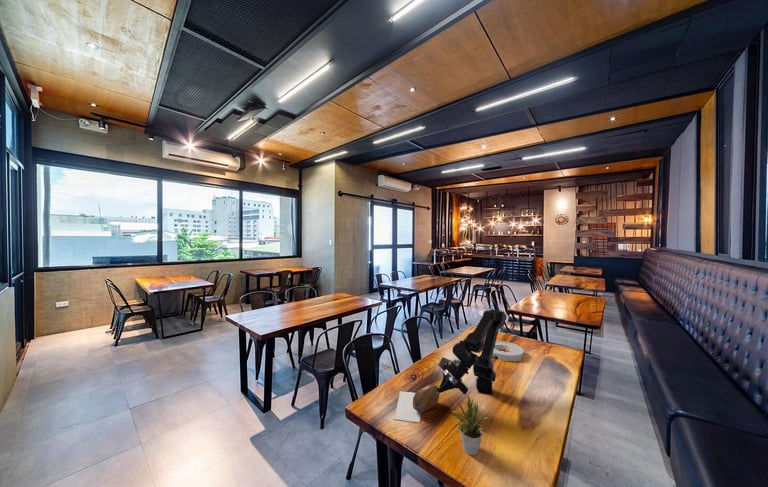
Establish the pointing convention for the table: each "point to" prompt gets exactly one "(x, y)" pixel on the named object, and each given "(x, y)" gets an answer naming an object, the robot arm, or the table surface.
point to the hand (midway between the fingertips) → (438, 391)
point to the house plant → (470, 428)
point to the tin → (425, 398)
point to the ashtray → (513, 355)
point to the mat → (406, 408)
